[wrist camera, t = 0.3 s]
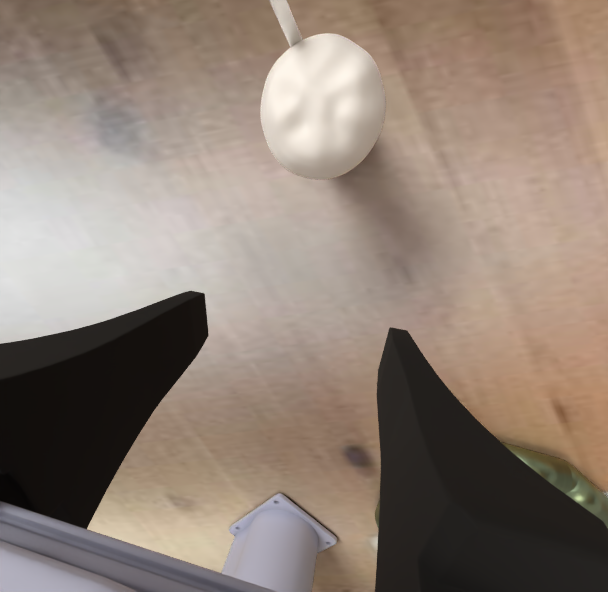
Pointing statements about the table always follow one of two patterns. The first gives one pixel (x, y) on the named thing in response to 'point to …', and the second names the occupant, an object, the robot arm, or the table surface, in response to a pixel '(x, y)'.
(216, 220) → the table surface
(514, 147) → the table surface
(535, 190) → the table surface
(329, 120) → the milkshake
